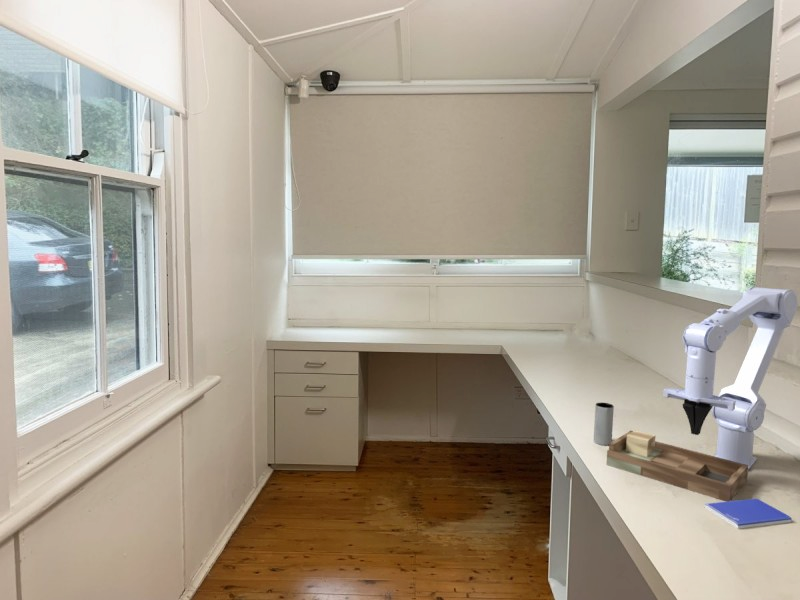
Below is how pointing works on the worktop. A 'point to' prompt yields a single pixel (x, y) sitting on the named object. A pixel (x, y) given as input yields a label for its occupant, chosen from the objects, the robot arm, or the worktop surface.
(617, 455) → the tray
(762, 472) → the worktop surface
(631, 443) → the maple block
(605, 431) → the planter
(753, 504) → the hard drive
